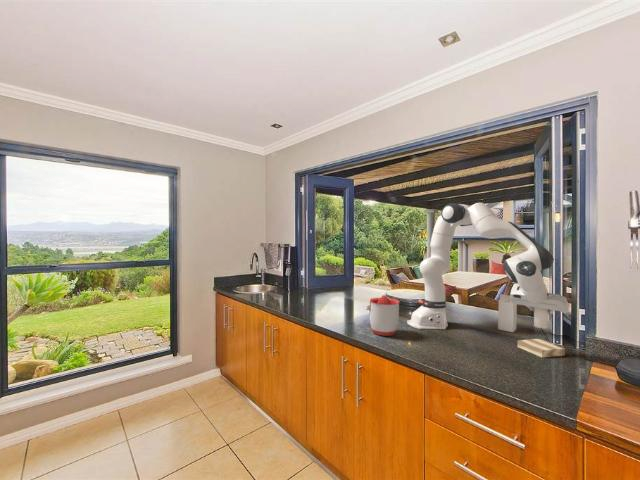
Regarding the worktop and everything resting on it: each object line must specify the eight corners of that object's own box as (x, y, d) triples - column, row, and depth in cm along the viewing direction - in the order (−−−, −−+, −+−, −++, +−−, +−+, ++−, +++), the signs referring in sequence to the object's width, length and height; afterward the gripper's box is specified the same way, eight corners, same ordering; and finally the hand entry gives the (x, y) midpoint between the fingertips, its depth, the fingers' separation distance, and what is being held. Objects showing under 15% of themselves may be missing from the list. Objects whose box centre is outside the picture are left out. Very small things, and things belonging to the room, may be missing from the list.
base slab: (542, 357, 123) (542, 350, 123) (517, 346, 134) (517, 340, 134) (564, 355, 125) (565, 348, 125) (538, 345, 137) (538, 338, 137)
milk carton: (501, 326, 164) (502, 293, 164) (516, 329, 159) (517, 295, 159) (498, 329, 159) (498, 295, 159) (513, 332, 154) (513, 297, 154)
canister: (541, 329, 126) (542, 299, 126) (530, 325, 132) (530, 296, 132) (552, 328, 127) (552, 298, 127) (540, 324, 133) (540, 296, 133)
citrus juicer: (366, 326, 162) (366, 291, 162) (398, 329, 159) (398, 292, 159) (364, 336, 147) (365, 297, 147) (400, 339, 144) (400, 298, 143)
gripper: (567, 289, 117) (573, 310, 123) (510, 283, 133) (517, 301, 139) (564, 302, 114) (570, 322, 120) (506, 294, 130) (514, 312, 136)
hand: (541, 311), depth 130 cm, fingers closed on canister, 5 cm apart
